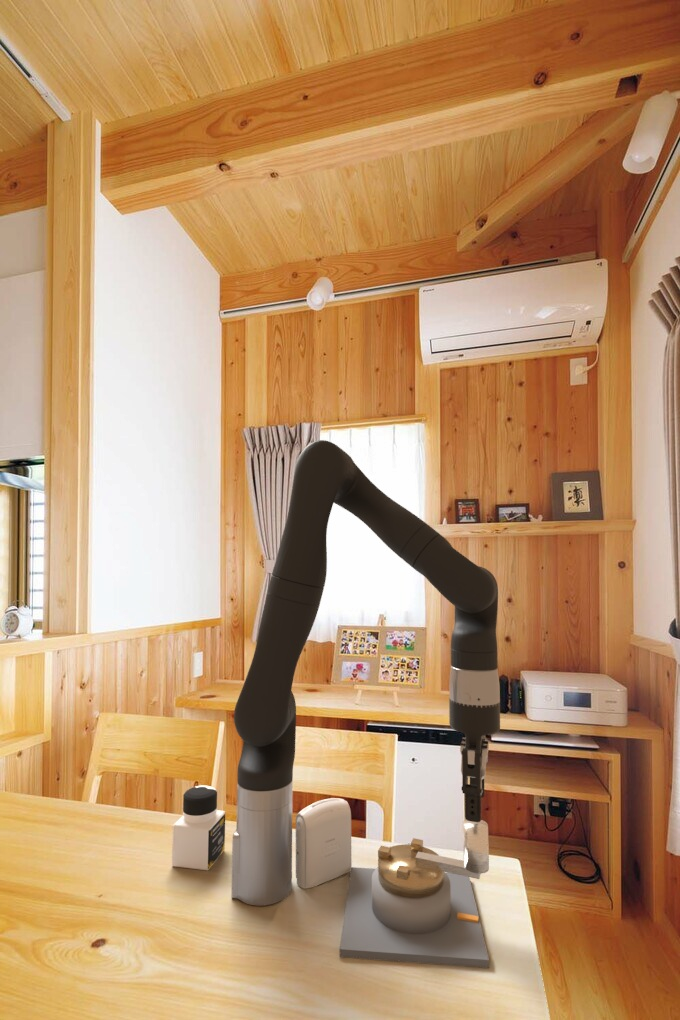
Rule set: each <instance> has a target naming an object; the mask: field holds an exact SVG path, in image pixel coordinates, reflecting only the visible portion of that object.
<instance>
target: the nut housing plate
mask: <svg viewBox="0 0 680 1020" xmlns="http://www.w3.org/2000/svg"><path fill="white" fill-rule="evenodd" d="M349 872H350V874H349V881H348V887H347V894H346V900H345V901H346V902H345V909H344V915H343V922H342V931H341V937H340V944H339V957H340V958H347V959H349V958H350V959H361V960H362V959H363V960H364V959H365V960H375V961H387V962H388V961H389V962H402V963H416V964H417V963H418V964H429V965H431V964H432V965H443V966H457V967H468V968H469V967H470V968H471V967H473V968H483V969H484V968H486V969H489V968H490V958H489V954H488V951H487V945H486V942H485V938H484V933H483V928H482V925H481V921H480V917H479V912H478V908H477V904H476V900H475V895H474V891H473V886H472V883H471V877H466V876H462V875H457V874H452V873H447V872H444V883H443V886H442V888H441V889H440V890H439V891H438V892H437V893H435V894H433V895H430V896H427V897H421V898H409V897H403V896H399V895H396V894H394V893H392V892H390V891H388V890H386V889H385V888H384V887H383V886H382V885H381V883H380V882H379V879H378V866H377V867H376V868H372V867H371V868H370V867H367V868H365V867H352V866H351V870H350V871H349Z"/></svg>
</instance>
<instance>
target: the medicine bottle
mask: <svg viewBox="0 0 680 1020" xmlns="http://www.w3.org/2000/svg"><path fill="white" fill-rule="evenodd" d="M182 797H183V799H182V800H183V803H182V805H183V806H182V816H181V817H180V818H179V819H178V820H177V821H176V822H175V823H173V825H172V850H171V854H172V855H171V866H172V867H174V868H175V867H176V868H185V869H191V870H201V871H209V870H210V869H211V868H212V867H213V865H214V864H215V863H216V862H217V860H218V859H219V857H220V856H221V855H222V854H223V853H224V851H225V848H226V847H225V843H226V840H225V839H226V811H225V810H219V809H218V791H217V789H216V788H215V787H213V786H209V785H203V784H202V785H196V786H193V787H191V788H189V789H187V790H186V791H185V792H184V794H183V795H182Z"/></svg>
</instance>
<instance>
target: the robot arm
mask: <svg viewBox="0 0 680 1020" xmlns="http://www.w3.org/2000/svg"><path fill="white" fill-rule="evenodd" d="M291 487H292V488H291V491H290V492H291V493H290V500H289V506H288V513H287V516H286V521H285V525H284V529H283V532H282V536H281V539H280V543H279V547H278V551H277V554H276V558H275V563H274V566H273V570H272V572H271V576H270V579H269V583H268V587H267V591H266V596H265V600H264V605H263V609H262V612H261V613H262V614H261V618H260V622H259V627H258V633H257V637H256V644H255V650H254V653H253V657H252V659H251V660H252V661H251V663H250V666H249V669H248V672H247V674H246V677H245V679H244V683H243V686H242V688H241V691H240V693H239V696H238V699H237V700H236V703H235V707H234V710H233V711H234V712H233V720H234V727H235V729H236V732H237V734H238V736H239V737H240V739H241V740H242V747H241V748H242V750H241V752H240V753H241V754H240V758H239V761H238V764H237V772H236V773H237V775H236V777H237V780H236V781H237V782H236V783H237V785H236V829H235V831H234V832H233V834H232V840H231V841H232V843H231V844H232V845H231V846H232V851H231V854H232V855H231V898H232V899H237V900H240V901H241V902H243V903H244V904H247V905H251V906H262V907H263V906H270V905H273V904H276V903H279V902H281V901H282V900H284V899H286V897H288V896H289V894H291V891H292V887H293V884H292V883H293V783H294V782H293V778H294V777H293V775H294V774H293V773H294V763H295V757H296V739H297V738H296V736H297V735H296V734H297V733H296V732H297V729H296V728H297V704H296V697H295V696H294V693H293V691H292V688H293V683H294V677H295V673H296V669H297V665H298V662H299V659H300V656H301V654H302V652H303V650H304V647H305V645H306V643H307V640H308V638H309V636H310V634H311V631H312V628H313V626H314V623H315V621H316V617H317V615H318V611H319V608H320V604H321V601H322V596H323V593H324V588H325V585H326V580H327V571H328V570H327V569H328V556H327V553H328V552H327V549H328V548H327V535H328V533H327V532H328V523H329V520H330V516H331V513H332V509H333V506H334V504H336V506H337V505H338V506H339V507H340V508H342V509H344V510H345V511H348V512H349V513H351V514H352V515H354V517H356V518H358V520H360V521H361V522H362V523H364V525H366V526H367V527H368V528H369V529H370V530H371V531H372V532H373V533H374V534H375V535H376V536H377V537H378V538H379V539H380V541H382V542H383V543H384V544H385V545H386V546H387V548H389V549H390V550H391V551H392V552H393V553H395V554H396V555H397V556H398V557H399V558H400V559H401V560H403V561H404V562H405V563H406V564H407V565H408V566H410V567H411V568H413V570H415V571H416V572H417V573H418V574H420V575H422V576H423V578H424V577H425V579H426V580H427V581H428V582H429V583H430V584H431V585H432V586H433V587H434V588H435V589H436V590H437V591H438V593H440V594H441V595H442V597H444V598H445V599H446V600H447V601H448V602H449V603H450V604H452V605H453V606H454V627H453V630H452V633H451V639H450V671H449V679H448V680H449V682H448V683H449V684H448V685H449V689H448V690H449V695H448V696H449V697H448V700H449V701H448V703H449V705H448V707H449V709H448V711H449V713H448V714H449V715H448V717H449V726H450V727H451V729H452V730H454V732H455V731H456V732H459V733H462V734H463V735H465V737H462V739H461V742H460V747H459V748H460V749H459V751H460V755H461V764H460V772H461V775H462V778H461V779H462V782H461V784H462V786H461V791H462V794H464V818H465V820H468V821H473V822H480V821H481V820H482V798H484V797H485V778H486V775H487V774H486V770H487V763H488V761H489V759H488V758H489V746H490V745H489V743H490V742H489V740H486V736H491V735H495V734H498V733H499V732H500V730H501V698H500V697H501V696H500V695H501V693H500V690H501V689H500V677H499V670H498V665H499V664H498V663H499V662H498V641H497V623H498V609H499V608H498V606H499V605H498V604H499V587H498V582H497V579H496V577H495V576H494V574H493V573H492V572H491V571H490V570H489V569H487V568H484V567H482V566H478V565H477V564H475V562H472V561H471V560H470V558H469V559H468V558H467V557H466V556H464V555H463V554H462V553H461V552H459V551H458V550H456V549H455V548H454V547H453V546H452V544H451V543H450V542H449V541H448V540H447V538H445V537H444V536H443V535H442V534H440V533H439V532H438V531H437V530H436V529H434V528H433V527H431V526H430V525H429V524H427V523H426V522H425V521H424V520H422V518H420V517H418V516H417V515H415V514H414V513H413V512H411V511H410V510H409V509H407V508H406V507H404V506H402V504H401V505H400V504H399V503H398V502H396V501H395V500H393V499H392V498H390V497H389V496H388V495H387V494H385V492H383V491H382V490H380V489H379V488H378V487H377V486H376V484H375V483H373V482H372V481H371V480H370V479H369V477H367V475H366V474H365V473H364V472H363V471H362V470H361V469H360V468H359V466H358V465H357V464H356V463H355V461H354V460H353V459H352V457H351V456H350V455H349V454H348V453H347V452H346V451H344V449H342V448H341V447H340V446H338V445H337V444H335V443H333V442H332V441H329V440H326V439H325V440H324V439H321V440H315V441H312V442H311V443H309V444H308V445H307V446H306V447H304V449H303V450H302V451H301V453H300V454H299V456H298V458H297V461H296V463H295V467H294V473H293V481H292V485H291Z"/></svg>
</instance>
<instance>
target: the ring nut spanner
mask: <svg viewBox="0 0 680 1020" xmlns="http://www.w3.org/2000/svg"><path fill="white" fill-rule="evenodd" d="M462 827H463V828H462V833H463V834H462V835H463V838H462V839H463V860H461V859H457V858H453V857H447V856H441V855H439V854H438V853H437V852H435V851H434V850H432V849H430V848H428V847H424V840H423V839H420V838H414V837H413V838H412V840H411V843H410V844H406V843H405V844H397V845H393V846H385V845H380V847H379V848H378V850H377V857H378V858H377V867H378V879H379V882H380V883H381V885H382V886H383V887H384V888H385V889H386V890H388V891H390V892H392V893H394V894H396V895H399V896H403V897H409V898H421V897H427V896H430V895H433V894H435V893H437V892H438V891H439V890H440V889H441V888H442V886H443V883H444V872H445V873H452V874H457V875H462V876H466V877H469V878H470V879H471V878H473V879H475V880H476V879H477V880H480V878H481V874H485V873H487V872H488V871H489V870H490V858H489V857H490V854H489V853H490V852H489V851H490V850H489V849H490V848H489V847H490V845H489V824H488V823H487V822H486V821H485V820H483V819H481V821H480V822H473V821H468V820H466V819H465V820H463V822H462Z"/></svg>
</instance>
